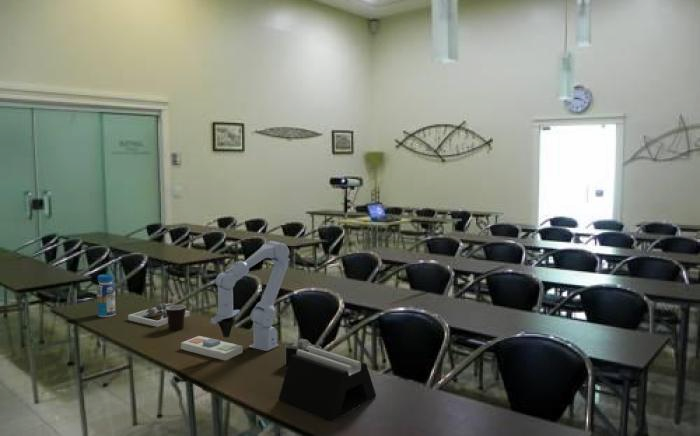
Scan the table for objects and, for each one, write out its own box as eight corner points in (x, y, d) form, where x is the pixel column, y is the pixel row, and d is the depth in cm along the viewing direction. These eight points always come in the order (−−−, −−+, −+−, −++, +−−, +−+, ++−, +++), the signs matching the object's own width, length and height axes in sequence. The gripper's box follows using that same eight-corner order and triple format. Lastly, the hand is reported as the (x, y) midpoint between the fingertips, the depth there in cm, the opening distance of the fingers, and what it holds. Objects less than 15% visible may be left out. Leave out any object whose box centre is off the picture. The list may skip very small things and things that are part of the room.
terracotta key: (205, 344, 227) (205, 339, 227) (197, 347, 223) (197, 343, 223) (197, 342, 229) (197, 337, 229) (188, 345, 225) (188, 341, 225)
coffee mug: (182, 331, 246) (182, 310, 245) (163, 331, 246) (163, 309, 245) (190, 324, 257) (190, 303, 256) (172, 323, 258) (171, 303, 256)
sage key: (235, 351, 219) (235, 346, 219) (226, 355, 215) (226, 350, 215) (226, 349, 221) (226, 344, 221) (217, 352, 217) (217, 348, 217)
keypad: (242, 352, 220) (242, 345, 220) (225, 360, 212) (225, 353, 212) (199, 342, 232) (199, 335, 232) (181, 349, 224) (181, 342, 224)
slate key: (220, 345, 223) (220, 340, 223) (211, 348, 219) (211, 343, 218) (211, 342, 225) (211, 338, 225) (202, 346, 221) (202, 341, 221)
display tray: (189, 316, 270) (189, 311, 270) (157, 326, 253) (156, 321, 253) (161, 310, 280) (161, 305, 280) (128, 320, 263) (128, 315, 262)
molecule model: (149, 332, 266) (153, 324, 258) (138, 318, 268) (142, 309, 260) (175, 316, 277) (180, 308, 269) (164, 302, 278) (169, 293, 270)
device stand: (325, 380, 195) (325, 339, 193) (375, 398, 181) (376, 354, 179) (278, 401, 178) (278, 356, 176) (330, 423, 164) (330, 374, 162)
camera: (326, 364, 209) (326, 339, 208) (320, 371, 202) (320, 345, 201) (290, 360, 213) (290, 335, 212) (283, 366, 207) (283, 340, 206)
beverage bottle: (97, 313, 273) (95, 274, 271) (115, 311, 276) (114, 272, 274) (97, 318, 265) (95, 277, 263) (116, 316, 269) (114, 276, 267)
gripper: (230, 297, 224) (231, 330, 226) (204, 306, 212) (205, 340, 213) (243, 300, 221) (244, 333, 222) (218, 308, 208) (219, 343, 210)
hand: (226, 336), depth 217 cm, fingers closed
